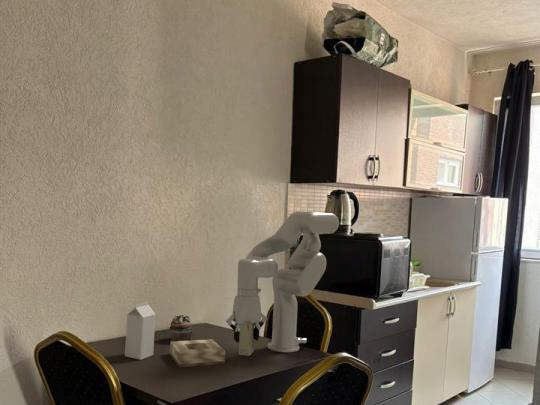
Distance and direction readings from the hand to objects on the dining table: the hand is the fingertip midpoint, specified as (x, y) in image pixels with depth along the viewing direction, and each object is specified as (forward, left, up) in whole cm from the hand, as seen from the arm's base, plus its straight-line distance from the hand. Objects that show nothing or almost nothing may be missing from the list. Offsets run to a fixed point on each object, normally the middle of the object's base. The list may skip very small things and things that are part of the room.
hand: (246, 340), depth 180 cm
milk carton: (+37, -11, -7) cm, 39 cm away
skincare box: (0, 0, -5) cm, 5 cm away
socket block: (+18, -3, -6) cm, 19 cm away
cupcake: (+18, -28, -7) cm, 34 cm away
